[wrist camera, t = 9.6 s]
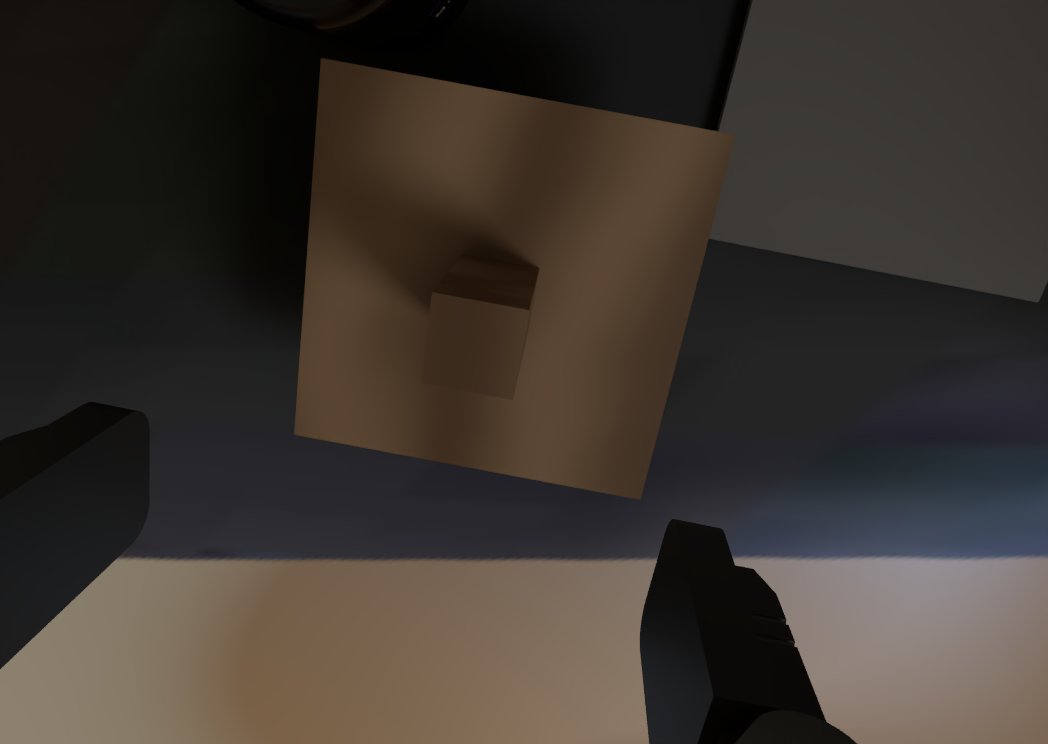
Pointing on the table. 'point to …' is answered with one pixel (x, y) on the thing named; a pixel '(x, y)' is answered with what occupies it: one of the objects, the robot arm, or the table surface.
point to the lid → (498, 276)
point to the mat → (893, 138)
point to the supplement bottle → (364, 20)
